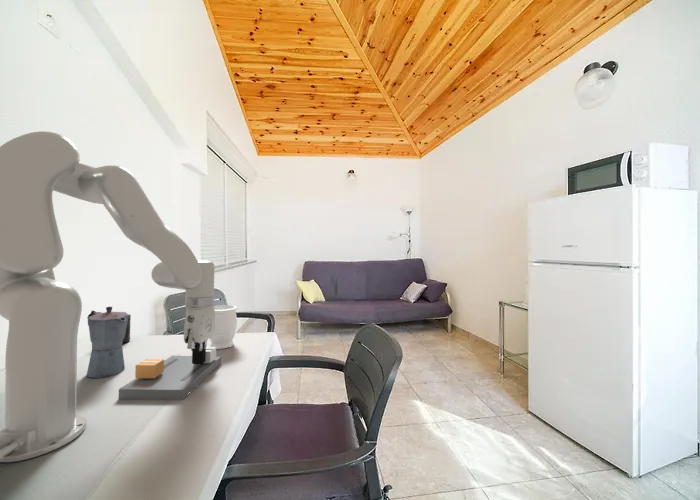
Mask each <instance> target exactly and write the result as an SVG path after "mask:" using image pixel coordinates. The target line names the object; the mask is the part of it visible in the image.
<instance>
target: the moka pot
mask: <svg viewBox="0 0 700 500" xmlns="http://www.w3.org/2000/svg"><path fill="white" fill-rule="evenodd" d="M105 310H106V311H105V312H101V311H95V310H91V312H90V313H89V314H88V315H87V318H86V319H87V326H88V331H89V340H90V342H91V353H90V358H89V363H88V367H87V371H86V377H88V378H92V379H100V378H108V377H112V376H115V375H117V374H119V373H121V372H122V371H124V370H125V367H126V365H125V360H124V350H123V344H122V343H123V339H124V338H125V333H126V327H127V322H128V318H129V315H130V314H129V315H128V313H127V312H126V311H113V306H107V307H105Z"/></svg>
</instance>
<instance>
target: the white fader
mask: <svg viewBox="0 0 700 500" xmlns="http://www.w3.org/2000/svg"><path fill="white" fill-rule="evenodd" d="M205 349H206V361H205V362H204V363H211V362H212V361H213V360H214V359H215V358H216V356H217V349H216V347H210V346H206V348H205Z"/></svg>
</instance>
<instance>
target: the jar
mask: <svg viewBox="0 0 700 500" xmlns="http://www.w3.org/2000/svg"><path fill="white" fill-rule="evenodd" d="M237 310H238V307H237V305H233V304H230V305H229V304H223V305H222V304H221V305H215V306H214V311H215V334H214V335H213V336H212V337H210V338H209V340H210V342H211V343H210V345H209V347H216V350H223V349H228V347H229V348H231V347H233V346H234V341H233V340H234V338H235V335H236V332H237V331H236V330H237V324H238V318H237V317H238V316H237V313H236V311H237ZM232 345H233V346H232Z"/></svg>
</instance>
